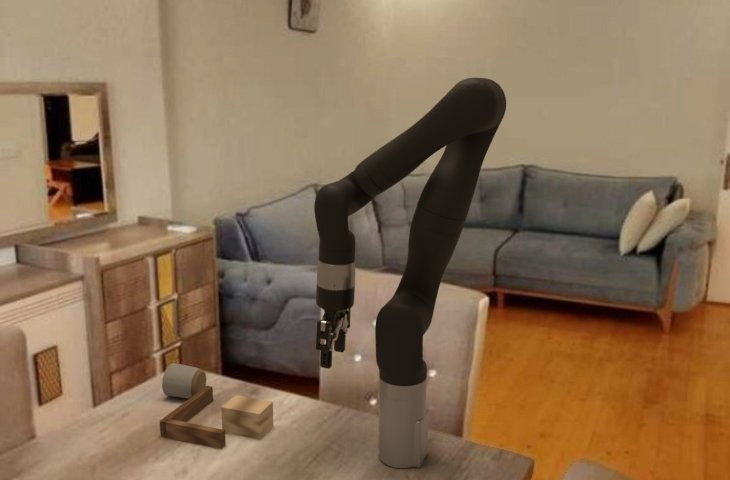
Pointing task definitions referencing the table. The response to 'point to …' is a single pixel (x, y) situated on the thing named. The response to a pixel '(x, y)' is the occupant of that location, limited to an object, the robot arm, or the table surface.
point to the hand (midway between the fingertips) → (332, 359)
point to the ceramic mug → (183, 380)
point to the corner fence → (189, 432)
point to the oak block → (247, 417)
